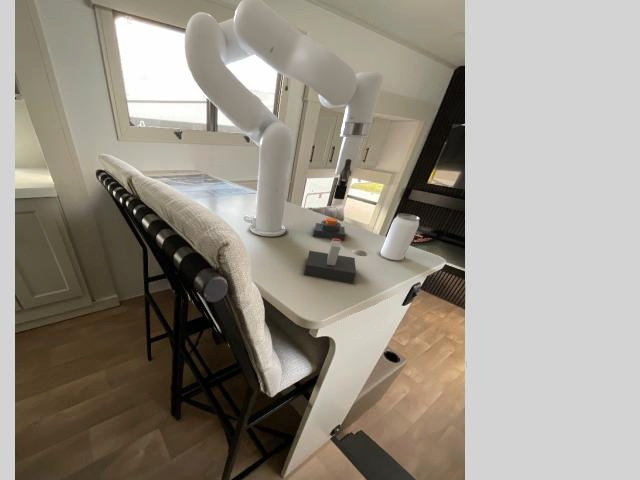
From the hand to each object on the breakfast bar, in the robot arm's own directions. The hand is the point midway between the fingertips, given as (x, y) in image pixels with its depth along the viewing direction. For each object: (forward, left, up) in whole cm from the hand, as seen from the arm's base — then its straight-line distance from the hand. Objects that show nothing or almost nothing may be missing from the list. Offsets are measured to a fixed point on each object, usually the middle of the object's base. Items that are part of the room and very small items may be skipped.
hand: (338, 198), depth 82 cm
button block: (0, 0, -12) cm, 12 cm away
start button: (0, 0, -9) cm, 9 cm away
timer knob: (+1, -28, -9) cm, 30 cm away
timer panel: (+1, -28, -12) cm, 31 cm away
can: (+19, -11, -13) cm, 25 cm away
